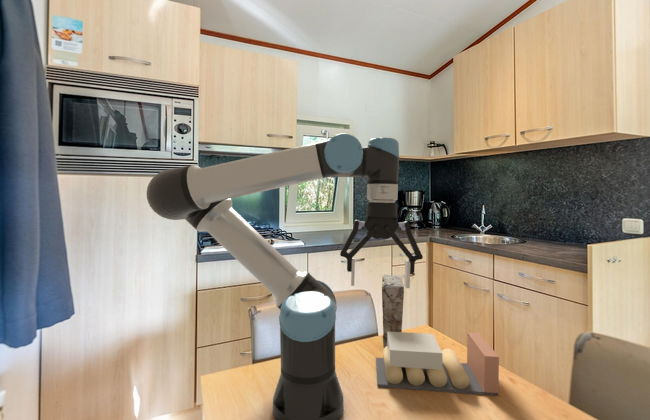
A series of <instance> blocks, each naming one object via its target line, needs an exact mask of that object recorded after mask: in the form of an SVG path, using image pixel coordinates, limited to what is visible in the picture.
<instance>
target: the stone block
mask: <svg viewBox="0 0 650 420" xmlns="http://www.w3.org/2000/svg"><path fill="white" fill-rule="evenodd" d="M404 286H405V284H404V283H403V280H402V277H401V276H400V275H399V276H397V275H390V274H384V275H382V283H381V300H382V301H381V306H382V307H381V309H382V329H383V331H382V332H383V333H382V335H383V336H382V344H383V349H384V348H385V347H386V346H387V332H402V330H403V316H404V315H403V314H404V298H405V288H404Z"/></svg>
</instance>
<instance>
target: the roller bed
mask: <svg viewBox="0 0 650 420" xmlns="http://www.w3.org/2000/svg"><path fill="white" fill-rule="evenodd" d="M441 351H442V370H438V369H423V368H408V367H393V366H390V363H389V356H388V348H387V346H386V347H385V348H384V347H383V352H382V353H383V357H375V367H376V368H375V369H376V384H377V385H376V386H377V387H379V388H391V389H392V388H394V389H405V390H417V391H418V390H419V391H430V392H432V391H433V392H444V393H445V392H446V393H457V394H458V393H459V394H469V395H470V394H471V395H472V394H473V395H474V394H475V395H484V393H485V395H484V396H497V395H498V396H499V393H498V394H497V393H493V395H492V394H491V393H490V392H484V391H483V389H482V388H481V386H480V384H479V383H478V381H477V379H476V378H475V376H474V374H473V373H472V371H471V369H470V368H469V366H468V364H467V362H461V361H460V359H459V357H458V356H457V353H456V352H455V351H454V350H453V349H451V348H444V349H441ZM487 394H488V395H487Z"/></svg>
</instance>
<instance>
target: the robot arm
mask: <svg viewBox="0 0 650 420" xmlns="http://www.w3.org/2000/svg"><path fill="white" fill-rule="evenodd" d="M399 144H400V143H399V141H398V140H397V139H395V138H393V137H383V136H382V137H374V138H371V139H369V141H368V144H367V146H362V143H361V142H360V141H359V139H358V138H357V137H355V135H353V134H350V133H347V132H346V133H345V132H343V133H338V134H335V135H333V136H332V137H331V138H330V139H327V140H322V141H319V142H314V143H309V144H303V145H300V146H296V147H291V148H287V149H283V150H278V151H272V152H267V153H264V154H260V155H255V156H251V157H246V158H241V159H237V160H233V161H232V160H231V161H228V162H224V163H223V162H222V163H219V164H214V165H210V166H206V167H205V166H204V167H200V166H199V165H197V164H191V165H188V166H187V165H186V166H181V167H175V168H169V169H166V170H165V169H164V170H163V171H160V172H158V173H157V174H155V175H154V176H153V177H152V178H151V180H150V181H149V183H148V185H147V187H146V199H147V203H148V205H149V207H150V208H151V209H152V210H153V213H156V214H157V215H158V216H159V217H161V218H163V219H164V218H165V219H167V220H173V221H177V220H179V221H180V220H185V221H186V222H187V223H188V224H189V225H190V226H192V227H193V228H194V230H196V231H197V232H199V233H200V232H203V233H208V234H209V235H210V236H211V237H212V238H213V239H215V241H216V242H217V243H219V244H220V246H222V247H223V248H224V249H225V250H226V251H227V252H228V253H229V254H230V256H232V257H233V258H234V259H236V261H238V263H240V264H241V266H243V267H244V268H245V270H247V271H248V272H249V273H250V274H251V275H252V276H253V277H254V278H256V279H257V281H259V282H260V283H261V285H263V287H265V288H266V289H267V290H268V291H269V292H270V293H271V294H272V295H273V296H274V298H275V306H276V307H277V308H278V310H280V311H279V317H278V322H279V326H280V327H279V333H280V334H279V336H280V337H279V338H280V345H279V346H280V349H279V350H280V374H279V378H278V381H277V385H276V388H275V390H274V393H273V398H272V413H273V414H272V415H273V418H274V419H275V420H340V419H341V418H342V416H343V414H344V408H345V407H344V402H345V401H344V400H345V399H344V393H343V390H342V388H341V385H340V382H339V381H340V380H339V378H338V376H337V372H336V319H337V300H336V296H335V294H334V291H333V290H332V288H331V287H330V286H329V285H328V284H327V283H325V282H324V281H321V280H318V279H316V278H315V277H314V276H313V275H311V273H310V272H309V271H299V270H298V269H297V268H296V267H295V266H294V265H293V264H292V263H291V262H289V261H288V260H287V259H286V258H285V257H284V255H282V254H281V253H280V252H279V250H278V249H276V248H275V247H274V246H273V245H272V244H270V243H269V241H268V240H266V239H265V237H264V236H262V235H261V234H260V233H259V232H258V231H257V230H256V229H255V228H254V227H253V226H252V225H251V224H250V223H248V222H247V220H246V219H244V218H243V217H242V216H241V215H240V214H239V213H238V212H237V211H236V210H235V209H234V207H233V199H234V198H239V197H243V196H244V197H245V196H249V195H252V194H257V193H261V192H266V191H271V190H275V189H280V188H284V187H285V188H286V187H289V186H290V187H291V186H293V185H299V184H302V183H307V182H311V181H317V180H320V179H321V180H322V179H325V178H333V179H335V178H367V185H366V186H367V187H366V191H367V192H366V199H367V201H368V202H367V203H366V219H365V221H361V220H358V219H355V220H354V221H353V225H352V229H351V232H350V233H349V235H348V237H347V239H346V241H345V243H344V245H343V247H342V248H341V250H340V253H339V256H341V257H342V258H345V259H346V262H347V263H346V270H347V272H348V273H350V272H351V274H350V275H351V278H350V285H351V286H352V287H353V286H354V287H355V273H356V271H355V268H356V266H355V265H356V264H355V263H356V259H355V257H354V256H356V254H358V253H359V252H360V250H361V249H362V248H363V247H364V245H365V244H366V243H367V242H368V241H369V240H370V239H372V238H373V239H375V240H379V239H382V240H388V239H390V238H391V239H392V240H393V241H394V242H395V244H396V245H397V246H398V248H400V250H401V251H402V252H403V253H404V255H405V256H406V257H407V258H408V259H405V263H404V264H405V265H404V266H405V267H404V286H405V288H406V289H410V288H411V284H410V283H411V275H414V274H415V265H416V264H415V263H416V261H418V260H422V259H423V254H422V253H421V250H420V247H419V245H418V243H417V241H416V239H415V238H414V236H413V235H414V234H413V233H412V231H411V223H410V222H409V221H407V220H405V221H402V222H401V221H400V222H398V203H397V202H396V201H397V200H398V193H399V190H398V189H399V167H400V163H399V162H400V150H399V147H400V145H399ZM362 227H364V228H365V229H366V233H365V234H364V235H363V237H362V238H361V239H360V240H359V241H358V242H357V243H356V244H355V246H354V247H352V249H351V250H350V251H349V252H348V250H349V248H350V246H351V245H352V243H353V240H354V239H355V237H356V235H357V233H358V231H359V230H362ZM398 228H400V229H401V230H402V231H404V234H405V236H406V238H407V241H408V242H409V244H410V247H411V249H412V251H413V253H414V254H412V253H411V252H410V250H409V249H408V248H407V247H406V245H405V244H404V243H403V242H402V240H401V239H400V238H399V237H398V235H397V234H396V231H397V230H398Z"/></svg>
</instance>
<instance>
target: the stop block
mask: <svg viewBox="0 0 650 420" xmlns="http://www.w3.org/2000/svg"><path fill="white" fill-rule="evenodd" d="M466 342H467V344H466V345H467V346H466V363H467V364H468V366H469V368H470V369H471V371H472V373H473V374H474V376H475V378H476V379H477V381H478V383H479V384H480V386H481V388H482V389H483V391H484V392H490V393H491V394H492V395H491V396H494V395H493V393H497V394H498V395H497V396H499V380H500V379H499V377H500V376H499V373H500V371H499V369H500V357H499V355H498V354H497V352H495V350H494V349H493V348H492V346H491V345H490V344H489V343H488V342H487V341H486V339H485V338H484V337H483V335H482V334H481V333H480V332H467V337H466ZM484 396H489V395H488V394H487V395H485V393H484Z"/></svg>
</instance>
